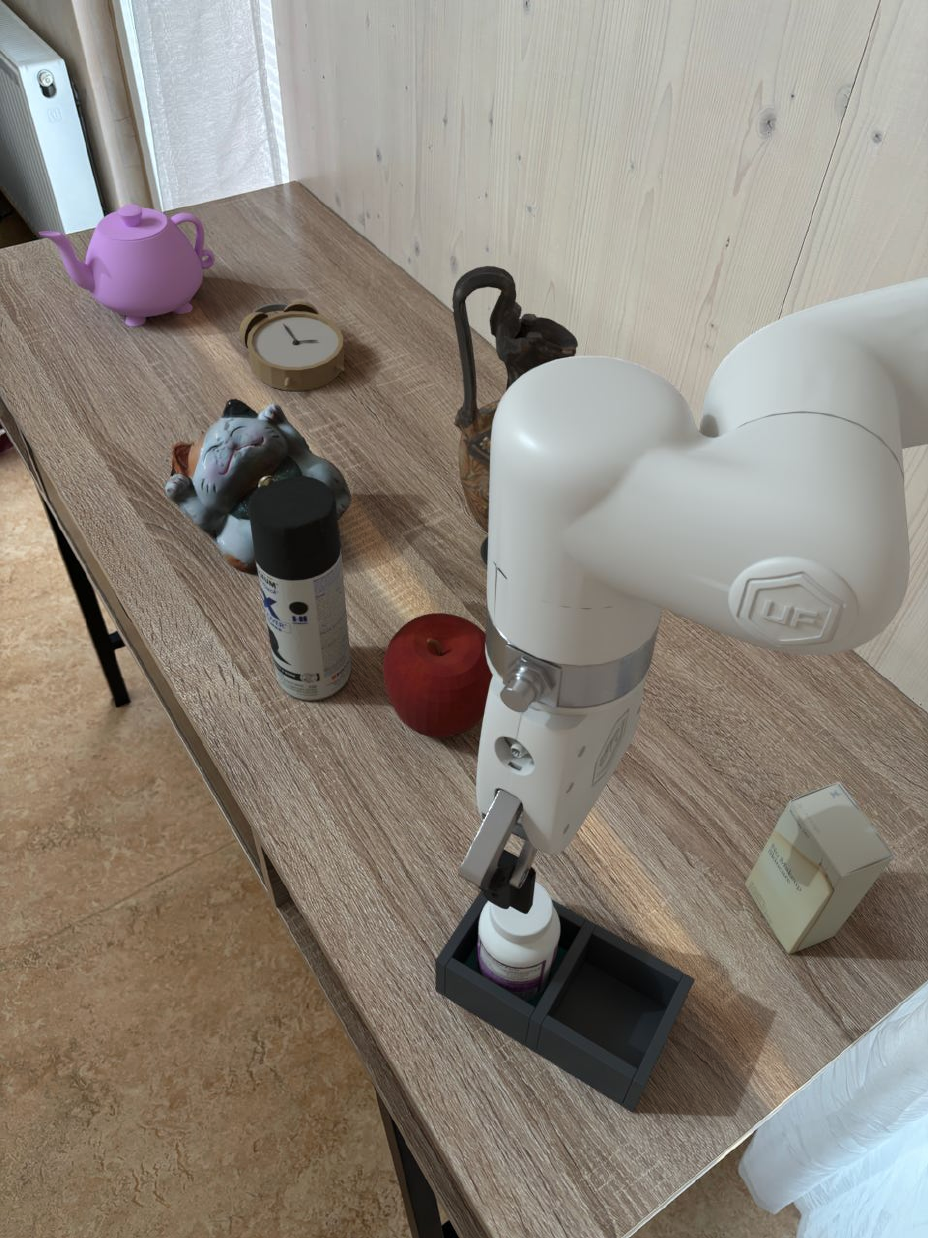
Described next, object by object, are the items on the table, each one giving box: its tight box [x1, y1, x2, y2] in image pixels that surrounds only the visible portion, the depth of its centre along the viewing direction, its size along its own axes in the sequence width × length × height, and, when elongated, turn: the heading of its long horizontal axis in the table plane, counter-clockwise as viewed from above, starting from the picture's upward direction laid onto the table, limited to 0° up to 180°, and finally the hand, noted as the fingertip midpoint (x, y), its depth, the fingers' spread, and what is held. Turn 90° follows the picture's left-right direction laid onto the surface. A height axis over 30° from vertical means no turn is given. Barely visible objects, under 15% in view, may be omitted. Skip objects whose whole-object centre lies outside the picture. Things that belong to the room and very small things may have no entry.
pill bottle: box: [477, 880, 560, 1002], centre depth 68 cm, size 5×5×10 cm
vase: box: [451, 265, 579, 566], centre depth 90 cm, size 12×12×30 cm
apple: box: [382, 612, 493, 738], centre depth 83 cm, size 10×10×10 cm
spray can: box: [248, 475, 352, 702], centre depth 82 cm, size 7×7×20 cm
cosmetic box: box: [744, 781, 894, 955], centre depth 71 cm, size 6×4×12 cm
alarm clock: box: [238, 300, 346, 392], centre depth 121 cm, size 11×5×15 cm
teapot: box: [38, 204, 216, 327], centre depth 125 cm, size 20×14×12 cm
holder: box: [434, 890, 696, 1114], centre depth 69 cm, size 15×8×5 cm, turn 59°
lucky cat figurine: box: [164, 398, 352, 575], centre depth 98 cm, size 15×12×14 cm
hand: (546, 829), depth 57 cm, fingers open, 9 cm apart
